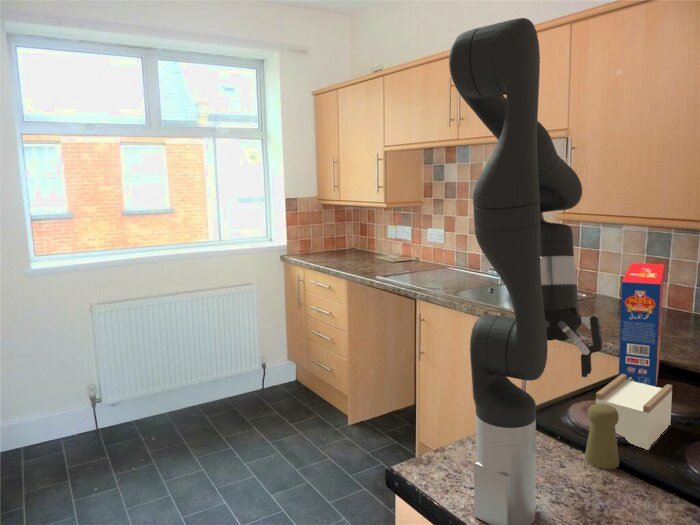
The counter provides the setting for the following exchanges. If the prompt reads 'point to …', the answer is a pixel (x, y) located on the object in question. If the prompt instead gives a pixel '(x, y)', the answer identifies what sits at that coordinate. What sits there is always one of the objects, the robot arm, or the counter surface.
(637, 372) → the pasta box
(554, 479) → the counter surface
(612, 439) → the olive green pawn
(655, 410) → the display stand
